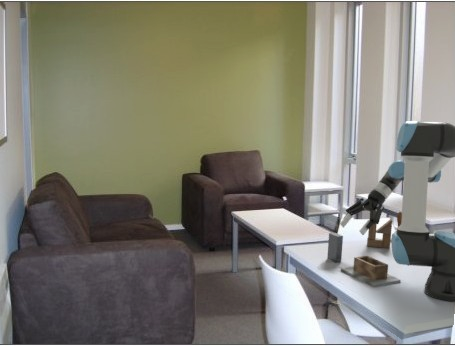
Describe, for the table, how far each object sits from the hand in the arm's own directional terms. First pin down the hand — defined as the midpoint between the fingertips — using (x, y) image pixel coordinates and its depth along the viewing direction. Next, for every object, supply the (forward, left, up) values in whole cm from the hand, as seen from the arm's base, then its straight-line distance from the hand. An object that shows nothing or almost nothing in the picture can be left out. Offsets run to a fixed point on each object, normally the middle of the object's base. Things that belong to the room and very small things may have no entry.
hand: (351, 229), depth 236 cm
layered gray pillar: (-1, +9, -13) cm, 16 cm away
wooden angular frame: (+9, -26, -14) cm, 31 cm away
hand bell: (+11, -41, -14) cm, 45 cm away
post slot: (-23, +8, -13) cm, 27 cm away
